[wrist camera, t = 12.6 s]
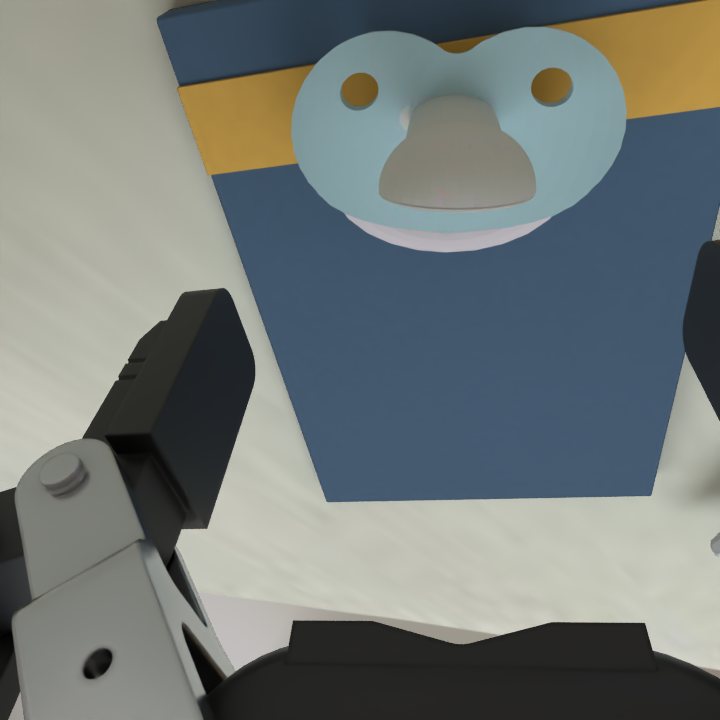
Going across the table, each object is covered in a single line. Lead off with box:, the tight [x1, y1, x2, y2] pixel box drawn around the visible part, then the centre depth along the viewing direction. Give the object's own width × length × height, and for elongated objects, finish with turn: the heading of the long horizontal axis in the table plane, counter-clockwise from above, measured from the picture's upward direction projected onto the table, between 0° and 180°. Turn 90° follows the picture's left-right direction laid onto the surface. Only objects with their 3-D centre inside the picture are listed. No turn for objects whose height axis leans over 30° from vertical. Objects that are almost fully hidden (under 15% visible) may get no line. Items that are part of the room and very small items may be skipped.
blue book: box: [157, 0, 720, 502], centre depth 20 cm, size 14×20×1 cm
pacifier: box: [291, 27, 627, 252], centre depth 13 cm, size 7×6×6 cm
